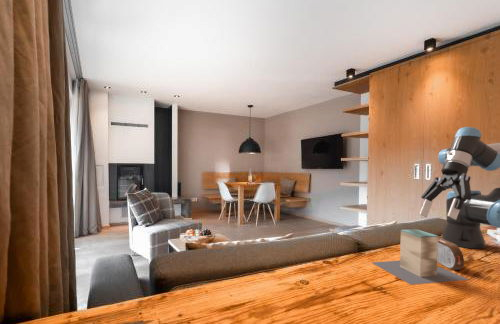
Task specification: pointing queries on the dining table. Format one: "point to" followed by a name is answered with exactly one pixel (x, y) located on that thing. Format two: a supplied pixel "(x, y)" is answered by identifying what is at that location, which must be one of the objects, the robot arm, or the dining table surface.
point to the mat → (413, 279)
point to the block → (419, 252)
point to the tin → (449, 255)
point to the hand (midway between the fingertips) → (436, 216)
